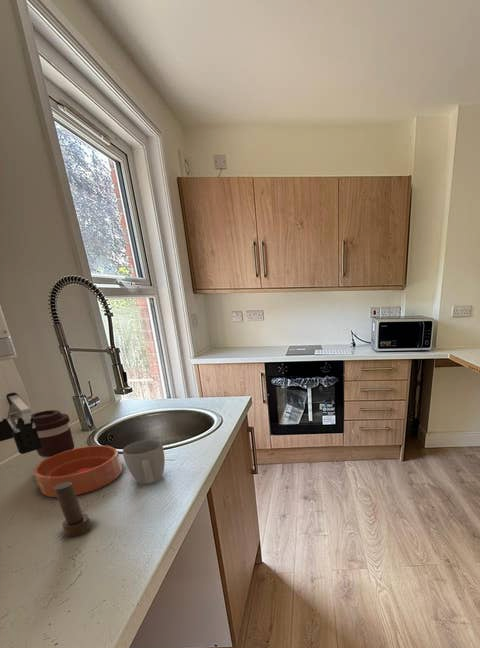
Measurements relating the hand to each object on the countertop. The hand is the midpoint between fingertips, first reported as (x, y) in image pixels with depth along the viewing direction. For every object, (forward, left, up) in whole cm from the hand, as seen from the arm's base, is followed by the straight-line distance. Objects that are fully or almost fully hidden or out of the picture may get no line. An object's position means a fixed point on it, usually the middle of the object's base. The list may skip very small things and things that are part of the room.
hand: (18, 444), depth 63 cm
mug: (+21, -1, -20) cm, 29 cm away
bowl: (+14, +16, -19) cm, 28 cm away
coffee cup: (+16, +31, -20) cm, 40 cm away
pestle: (+2, -6, -19) cm, 20 cm away
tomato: (+13, +13, -17) cm, 25 cm away
